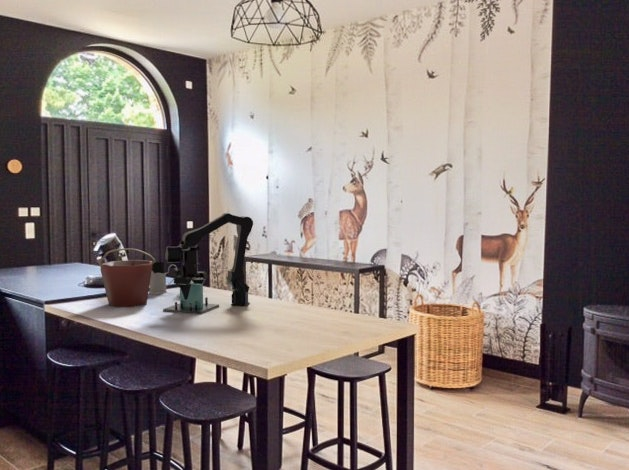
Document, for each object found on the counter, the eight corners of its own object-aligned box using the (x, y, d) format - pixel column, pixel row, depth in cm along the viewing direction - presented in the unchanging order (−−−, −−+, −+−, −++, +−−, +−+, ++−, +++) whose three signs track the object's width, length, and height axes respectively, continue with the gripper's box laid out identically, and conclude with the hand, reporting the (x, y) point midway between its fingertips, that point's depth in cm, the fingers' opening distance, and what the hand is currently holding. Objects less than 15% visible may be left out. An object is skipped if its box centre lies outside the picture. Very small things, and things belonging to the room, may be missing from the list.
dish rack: (219, 306, 254) (218, 297, 254) (201, 314, 239) (200, 304, 239) (183, 304, 260) (182, 295, 260) (163, 311, 245) (163, 302, 245)
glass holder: (147, 292, 293) (146, 262, 292) (175, 289, 299) (175, 261, 298) (150, 294, 285) (149, 264, 284) (179, 292, 291) (178, 262, 290)
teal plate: (203, 306, 249) (202, 283, 248) (200, 307, 247) (200, 284, 246) (182, 305, 252) (182, 282, 251) (180, 306, 250) (179, 283, 249)
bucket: (92, 308, 252) (91, 251, 250) (109, 299, 274) (107, 246, 272) (149, 308, 252) (148, 250, 250) (161, 298, 274) (160, 246, 272)
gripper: (185, 258, 259) (186, 293, 261) (162, 263, 242) (163, 300, 243) (207, 259, 256) (208, 294, 257) (185, 264, 238) (186, 301, 239)
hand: (191, 297), depth 249 cm, fingers open, 9 cm apart
